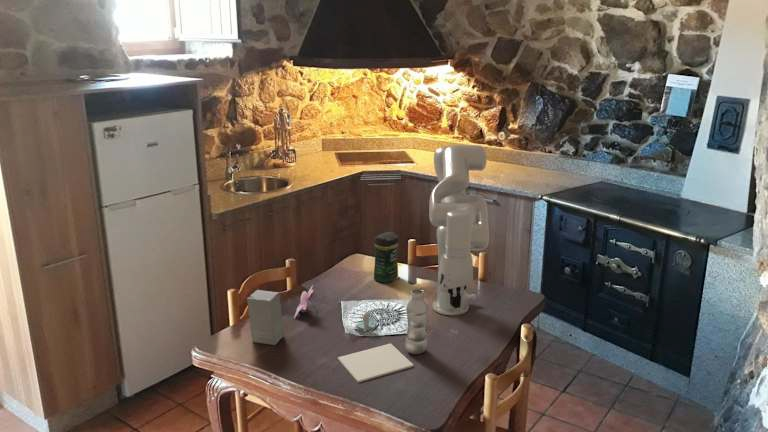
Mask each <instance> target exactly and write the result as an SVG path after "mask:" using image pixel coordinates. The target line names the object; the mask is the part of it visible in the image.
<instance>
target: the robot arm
mask: <svg viewBox="0 0 768 432" xmlns="http://www.w3.org/2000/svg"><path fill="white" fill-rule="evenodd" d="M487 159H488V157H487V152H486V149H485V148H484V146H482V145H470V144H469V145H467V144H466V145H465V144H459V145H458V144H455V145H445V146H441V147H438V148H437V149H436V150H435V151H434V153H433V165H434V171H435V175H436V177H437V180H438V183H437V184H436V185H435V187H433V189H432V190H431V194H430V197H429V205H428V206H429V208H428V209H429V211H428V214H429V215H428V216H429V221H430V223H431V225H432V226H433V227H437V229H436V240H437V241H436V242H437V250H438V253H437V255H438V256H437V257H438V258H437V259H438V263H437V264H438V265H437V266H438V267H437V269H438V270H437V294H436V295H437V296H436V298H437V299H435V300H434V301H433V303H432V309H433V311H435V312H436V313H439V314H440V315H445V316H460V315H464V314H465V313H466V312H468V311H469V306H470V305H469V303H468V302H470V301H473V300H476V298H477V295H476V293H472V294H469V292H466V289H467V288H469V287H471V286H472V283H473V279H474V264H473V261H474V260H473V257H472V253H471V251H484V250H486V249H487V248H488V245H489V242H490V229H489V227H490V226H489V213H488V212H489V211H488V203H487V200H486V198H485V196H482V195H480V194H479V195H478V194H466V189H467V188H468V187H469V185H470V172H469V171H476V172H477V171H481V172H482V171H483V170H485V168H486V166H487Z"/></svg>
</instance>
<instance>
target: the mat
mask: <svg viewBox="0 0 768 432" xmlns="http://www.w3.org/2000/svg"><path fill="white" fill-rule="evenodd" d="M337 360H338V361H339V363H340V364H341V365H342V366H343V367H344V369H346V371H347V372H348V373H349V374H350V376H351V377H352V378H353V379H354V380H355V382H357V383H362V382H364V381H369V380H372V379H375V378H378V377H382V376H386V375H389V374H393V373H397V372H399V371H403V370H407V369H410V368H413V367H414V363H412V361H410V360H409V359H408V358H407V357H406V356H405V355H404V354H403V353H402V352H400V351H399V349H397V348H396V347H395V346H394V345H393V344H392V343H391V342H390V343H386V344H383V345H379V346H375V347H372V348H369V349H365V350H361V351H357V352H353V353H349V354H346V355H342V356H337Z"/></svg>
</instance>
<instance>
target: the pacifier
mask: <svg viewBox="0 0 768 432" xmlns="http://www.w3.org/2000/svg"><path fill="white" fill-rule="evenodd" d="M376 325H377V320H376V319H375V318H371V312H369V311H367V312H365V313H364V314H363V316H362V321H361V322H358V323H356V324H355V325H354V326H355V329H357V330H356V331H362V330H367V331H369V330H370V329H373V328H374V327H375V326H376ZM369 328H370V329H369ZM355 329H354V330H355ZM368 329H369V330H368Z"/></svg>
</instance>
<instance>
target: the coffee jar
mask: <svg viewBox="0 0 768 432" xmlns="http://www.w3.org/2000/svg"><path fill="white" fill-rule="evenodd" d="M373 242H374V243H373V245H374V251H375V253H374V254H375V255H374V271H373V279H374V280H375V281H377V282H379V283H390V282H393V281H394V280H396V279H397V278H399V266H398V248H399V244H400V243H399V235H398V234H397V232H392V231H387V232H384V233H381V234H378V235H376V236H375V237H374V241H373Z"/></svg>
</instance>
